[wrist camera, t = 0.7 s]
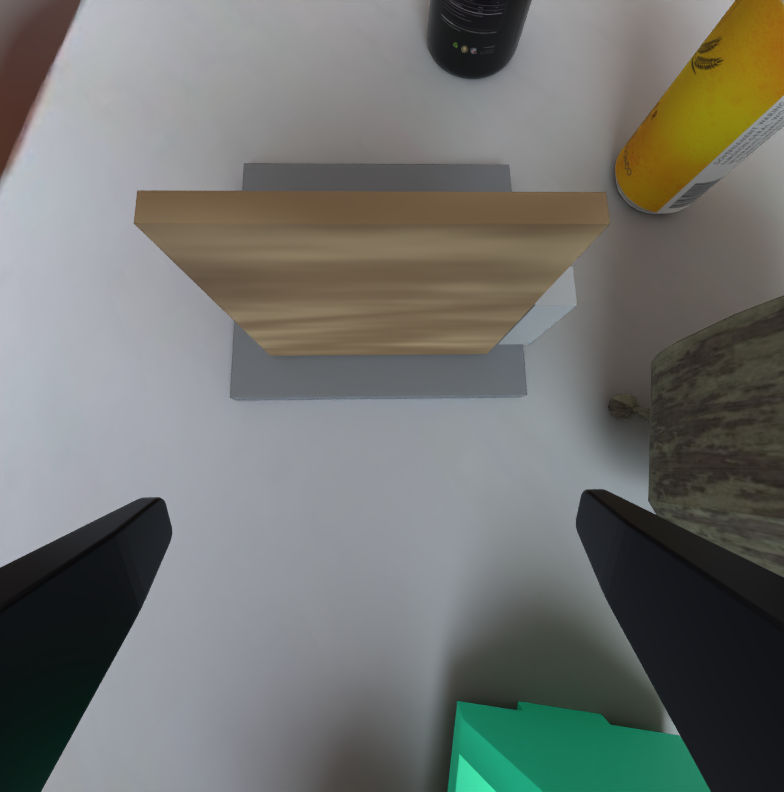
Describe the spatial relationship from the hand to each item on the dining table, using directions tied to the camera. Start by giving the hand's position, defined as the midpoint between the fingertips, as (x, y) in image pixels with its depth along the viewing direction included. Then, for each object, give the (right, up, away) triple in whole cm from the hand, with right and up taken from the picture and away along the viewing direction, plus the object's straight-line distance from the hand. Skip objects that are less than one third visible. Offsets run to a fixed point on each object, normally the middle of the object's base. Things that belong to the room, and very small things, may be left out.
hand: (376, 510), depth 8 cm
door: (0, +5, +15) cm, 16 cm away
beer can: (+19, +18, +19) cm, 32 cm away
